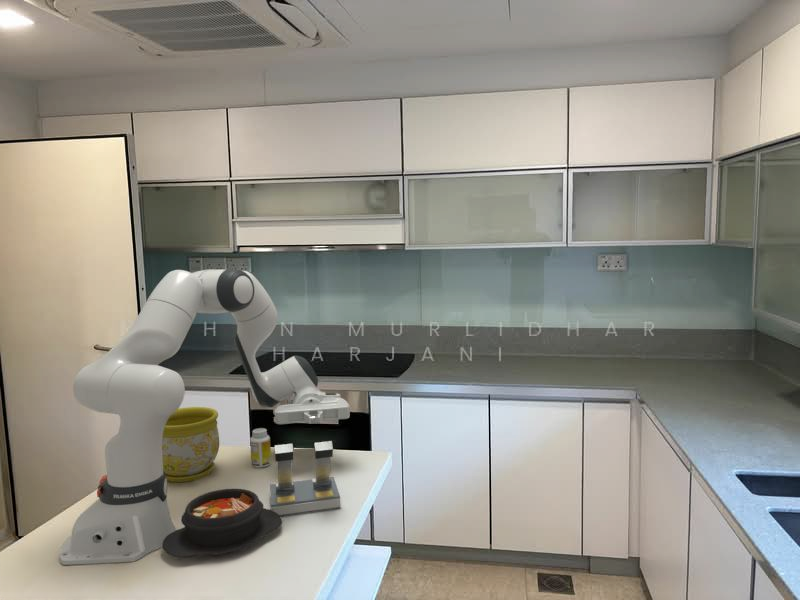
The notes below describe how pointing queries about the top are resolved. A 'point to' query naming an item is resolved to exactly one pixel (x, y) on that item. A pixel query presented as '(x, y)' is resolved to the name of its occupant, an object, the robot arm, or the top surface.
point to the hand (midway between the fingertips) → (314, 420)
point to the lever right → (323, 463)
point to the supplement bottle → (260, 448)
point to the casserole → (221, 524)
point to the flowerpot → (190, 443)
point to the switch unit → (304, 498)
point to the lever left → (284, 467)
